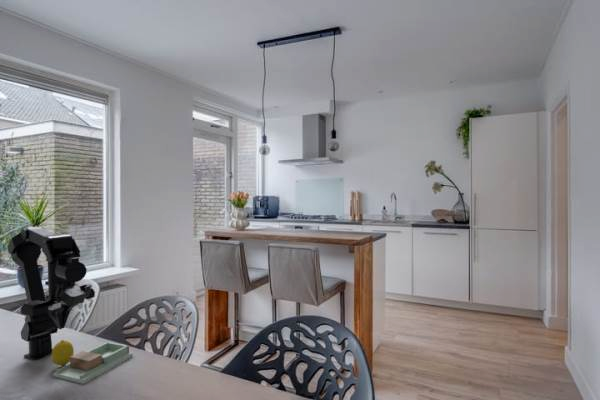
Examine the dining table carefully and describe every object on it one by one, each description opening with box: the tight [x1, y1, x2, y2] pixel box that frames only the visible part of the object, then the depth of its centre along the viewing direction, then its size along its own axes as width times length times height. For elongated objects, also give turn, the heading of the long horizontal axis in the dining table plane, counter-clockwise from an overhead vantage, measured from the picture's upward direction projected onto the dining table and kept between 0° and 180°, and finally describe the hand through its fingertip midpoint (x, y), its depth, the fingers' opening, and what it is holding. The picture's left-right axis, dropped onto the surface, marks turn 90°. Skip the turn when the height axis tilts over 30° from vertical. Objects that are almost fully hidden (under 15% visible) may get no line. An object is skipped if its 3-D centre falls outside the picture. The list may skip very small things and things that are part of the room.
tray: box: [52, 341, 134, 385], centre depth 107 cm, size 12×17×3 cm
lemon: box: [51, 339, 75, 368], centre depth 107 cm, size 6×6×8 cm
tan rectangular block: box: [69, 350, 102, 371], centre depth 104 cm, size 8×4×3 cm, turn 69°
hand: (61, 328), depth 106 cm, fingers closed
